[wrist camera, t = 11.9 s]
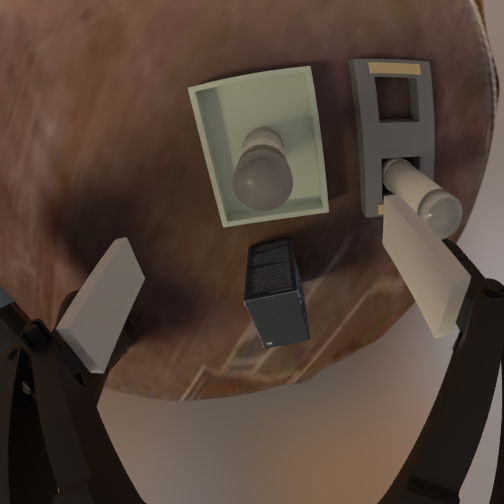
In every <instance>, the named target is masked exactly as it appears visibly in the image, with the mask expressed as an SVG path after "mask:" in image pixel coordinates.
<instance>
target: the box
mask: <svg viewBox="0 0 504 504" xmlns="http://www.w3.org/2000/svg"><path fill="white" fill-rule="evenodd" d="M244 304H245V306H246V308H247V310H248V312H249V314H250V316H251V319H252V321H253V323H254V325H255V328H256V330H257V332H258V335H259V337H260V340H261V342H262V345H263V347H264V348H265V349H266V348H271V347H276V346H282V345H288V344H293V343H298V342H303V341H307V340H310V334H309V326H308V319H307V312H306V306H305V300H304V293H303V287H302V282H301V278H300V274H299V270H298V266H297V262H296V258H295V254H294V251H293V247H292V242H291V238H285V239H281V240H277V241H272V242H268V243H264V244H259V245H255V246H251V247H249V249H248V260H247V272H246V283H245V293H244Z"/></svg>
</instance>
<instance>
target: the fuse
mask: <svg viewBox="0 0 504 504" xmlns="http://www.w3.org/2000/svg"><path fill="white" fill-rule="evenodd" d="M382 184H383V185H384V186H385V187H386V188H387V189H388V190H389V191H391V192H392V193H393V194H394V195H396V194H398V195H399V196H400V197H401V198H402V199H403V200H404V201H405V202H406V203H407V204H408V205H409V206H410V207H411V208H412V209H413V210H414V211H415V212H416V213H417V214H418V215H419V216H420V217H421V219H422V220H423V221H424V222H425V223H426V224H427V225H428V226H429V227H430V228H431V229H432V230H433V232H434V233H435V234H436V235H437V236H438V237H439V238H440V239H444V238H446V237H448V236H450V235H451V234H453V233H454V232H455V230H456V229H457V228H458V226H459V224H460V222H461V219H462V206H461V203H460V202H459V201H458V200H457V199H456V198H455V197H454V196H453V195H451V194H450V193H449V192H448V191H446V190H444V189H442V188H441V187H440V186H439V185H437V184H436V183H435V182H434V181H432V180H431V179H430V178H428V177H427V176H426V175H424V174H423V173H422V172H420V171H419V170H418V169H416V168H415V167H414V166H412V165H411V163H409V162H408V161H407V160H405V159H404V158H402V157H400V158H386V159H385V160H384V161H383V162H382Z"/></svg>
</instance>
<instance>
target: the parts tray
mask: <svg viewBox="0 0 504 504" xmlns="http://www.w3.org/2000/svg"><path fill="white" fill-rule="evenodd" d="M188 91H189V95H190V99H191V103H192V107H193V111H194V116H195V120H196V124H197V128H198V132H199V136H200V140H201V144H202V148H203V152H204V156H205V160H206V164H207V167H208V171H209V175H210V179H211V183H212V187H213V191H214V195H215V198H216V202H217V206H218V210H219V214H220V217H221V221H222V225H223V227H230V226H236V225H243V224H249V223H256V222H263V221H269V220H276V219H283V218H290V217H297V216H305V215H312V214H319V213H327V212H329V208H328V196H327V184H326V174H325V164H324V155H323V147H322V139H321V131H320V123H319V116H318V109H317V103H316V96H315V90H314V84H313V78H312V72H311V67H310V66H304V67H295V68H286V69H279V70H272V71H265V72H259V73H253V74H247V75H242V76H237V77H232V78H227V79H222V80H218V81H213V82H209V83H205V84H201V85H197V86H193V87H189V88H188ZM261 127H265V128H270V129H272V130H274V131H275V132H277V133H278V134H279V136H280V137H281V139H282V142H283V146H284V153H285V157H286V159H287V162H288V165H289V167H290V170H291V173H292V177H293V189H292V192H291V194H290V196H289V198H288V199H287V201H286V202H285V203H283V204H282V205H281V206H279V207H278V208H275V209H273V210H268V211H258V210H253V209H251V208H248V207H247V206H245V205H244V204H242V203H241V202H240V201H239V200H238V198H237V197H236V195H235V193H234V190H233V184H232V181H233V175H234V172H235V169H236V166H237V164H238V161H239V159H240V156H241V153H242V147H243V143H244V140H245V138H246V136H247V135H248V133H249V132H251V131H252V130H254V129H256V128H261Z"/></svg>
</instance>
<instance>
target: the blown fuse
mask: <svg viewBox="0 0 504 504" xmlns="http://www.w3.org/2000/svg"><path fill="white" fill-rule="evenodd" d="M232 184H233V190H234V193H235V195H236V197H237V198H238V200H239V201H240V202H241V203H242V204H244V205H245V206H247V207H248V208H251V209H253V210H258V211H268V210H273V209H275V208H278V207H279V206H281V205H282V204H283V203H285V202H286V201H287V199H288V198H289V196H290V194H291V192H292V189H293V177H292V173H291V170H290V167H289V165H288V162H287V159H286V157H285V153H284V146H283V142H282V139H281V137H280V136H279V134H278V133H277V132H275V131H274V130H272V129H270V128H265V127H261V128H256V129H254V130H252V131H251V132H249V133H248V135H247V136H246V138H245V140H244V143H243V147H242V153H241V156H240V159H239V161H238V164H237V166H236V169H235V172H234V175H233V181H232Z"/></svg>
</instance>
